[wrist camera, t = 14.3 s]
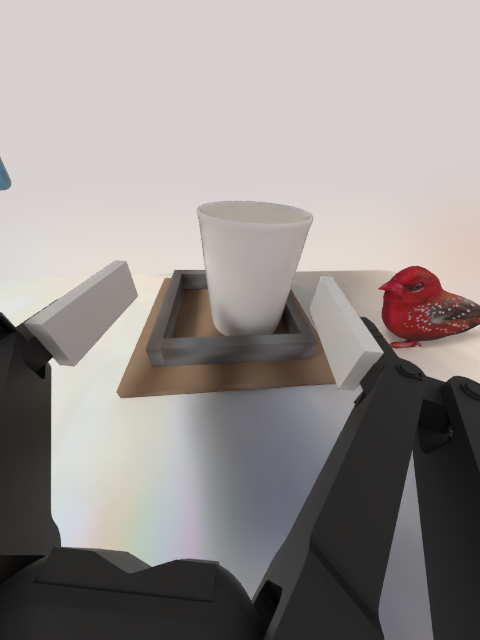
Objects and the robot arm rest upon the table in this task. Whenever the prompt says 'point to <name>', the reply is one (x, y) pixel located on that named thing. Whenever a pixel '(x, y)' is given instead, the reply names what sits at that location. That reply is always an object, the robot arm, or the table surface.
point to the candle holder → (250, 262)
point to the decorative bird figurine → (424, 308)
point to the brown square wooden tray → (218, 348)
